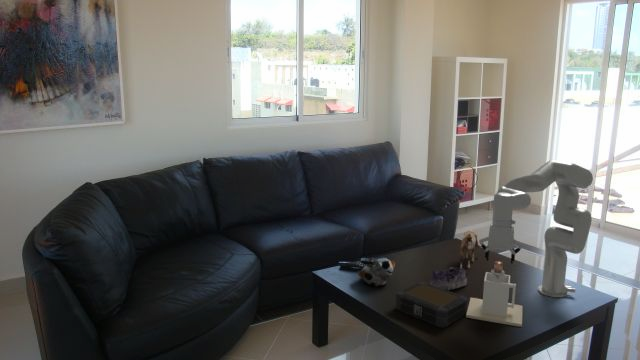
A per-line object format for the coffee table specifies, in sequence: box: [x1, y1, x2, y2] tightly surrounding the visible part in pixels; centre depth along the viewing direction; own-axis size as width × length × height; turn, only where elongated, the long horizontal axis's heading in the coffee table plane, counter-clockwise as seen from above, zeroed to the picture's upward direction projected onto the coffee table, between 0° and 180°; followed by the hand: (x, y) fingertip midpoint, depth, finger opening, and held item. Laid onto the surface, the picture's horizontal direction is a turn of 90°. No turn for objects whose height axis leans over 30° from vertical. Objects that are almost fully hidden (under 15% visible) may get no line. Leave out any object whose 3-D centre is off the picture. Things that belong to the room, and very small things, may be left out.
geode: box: [429, 266, 468, 291], centre depth 244 cm, size 20×12×10 cm, turn 123°
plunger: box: [490, 260, 506, 282], centre depth 216 cm, size 8×8×21 cm
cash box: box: [395, 281, 469, 329], centre depth 219 cm, size 25×20×8 cm
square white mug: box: [465, 271, 523, 328], centre depth 217 cm, size 22×18×16 cm
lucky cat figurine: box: [357, 257, 396, 288], centre depth 249 cm, size 17×14×16 cm
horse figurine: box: [459, 230, 482, 270], centre depth 272 cm, size 31×8×21 cm, turn 152°
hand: (499, 261), depth 214 cm, fingers open, 9 cm apart
